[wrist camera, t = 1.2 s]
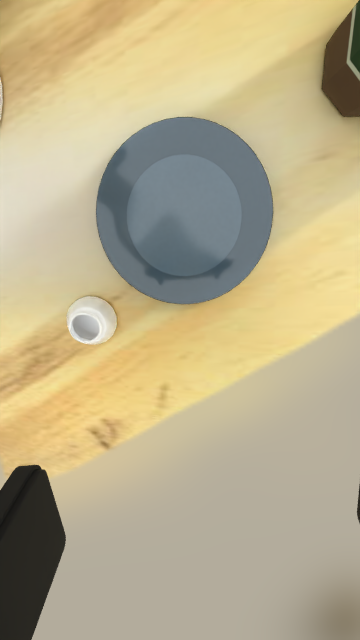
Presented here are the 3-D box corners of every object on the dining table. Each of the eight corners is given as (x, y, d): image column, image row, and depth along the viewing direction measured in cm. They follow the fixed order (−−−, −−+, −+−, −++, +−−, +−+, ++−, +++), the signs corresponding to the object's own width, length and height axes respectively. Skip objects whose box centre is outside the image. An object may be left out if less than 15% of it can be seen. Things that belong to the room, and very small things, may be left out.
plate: (74, 257, 29) (70, 259, 28) (141, 83, 25) (139, 76, 24) (218, 327, 31) (219, 331, 30) (303, 176, 27) (308, 174, 26)
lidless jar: (94, 350, 32) (127, 321, 31) (85, 362, 30) (121, 330, 28) (59, 316, 31) (92, 285, 30) (47, 325, 28) (83, 291, 27)
